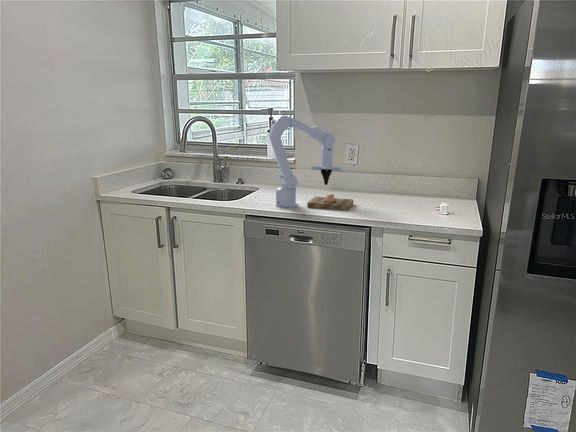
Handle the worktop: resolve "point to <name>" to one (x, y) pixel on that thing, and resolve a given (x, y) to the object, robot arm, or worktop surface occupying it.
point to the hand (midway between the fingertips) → (326, 184)
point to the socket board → (337, 205)
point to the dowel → (329, 198)
